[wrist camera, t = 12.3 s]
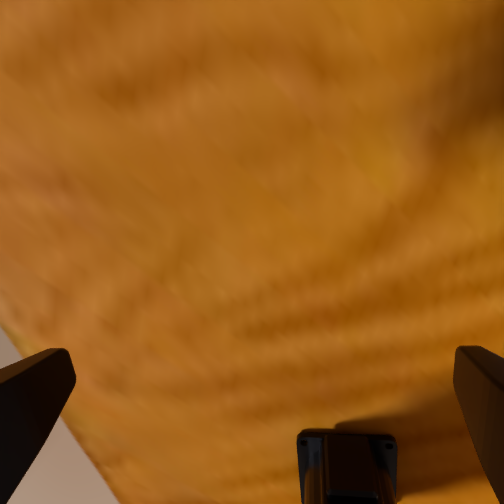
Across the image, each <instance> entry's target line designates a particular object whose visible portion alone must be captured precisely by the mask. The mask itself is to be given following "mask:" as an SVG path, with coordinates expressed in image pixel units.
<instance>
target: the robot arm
mask: <svg viewBox="0 0 504 504" xmlns="http://www.w3.org/2000/svg"><path fill="white" fill-rule="evenodd" d="M75 383H76V374H75V371H74V367H73V364H72V361H71V357H70V354H69V352H68V351H67V350H66V349H64V348H50V349H46V350H44V351H42V352H39V353H37V354H35V355H32V356H30V357H28V358H25V359H23V360H20V361H18V362H16V363H14V364H11V365H9V366H6V367H4V368H2V369H0V504H7V502H8V500H9V499H10V497H11V496H12V494H13V493H14V491H15V489H16V488H17V486H18V485H19V483H20V482H21V480H22V478H23V477H24V475H25V474H26V472H27V471H28V469H29V467H30V466H31V464H32V463H33V461H34V460H35V458H36V456H37V455H38V453H39V451H40V450H41V448H42V447H43V445H44V443H45V441H46V440H47V438H48V436H49V434H50V432H51V431H52V429H53V427H54V425H55V423H56V421H57V419H58V417H59V415H60V413H61V411H62V410H63V408H64V406H65V404H66V402H67V400H68V398H69V396H70V394H71V392H72V390H73V388H74V386H75ZM453 384H454V389H455V393H456V396H457V398H458V401H459V404H460V407H461V410H462V413H463V415H464V418H465V421H466V424H467V427H468V429H469V432H470V435H471V438H472V441H473V444H474V446H475V449H476V452H477V455H478V457H479V460H480V462H481V465H482V467H483V469H484V471H485V474H486V476H487V478H488V480H489V482H490V484H491V486H492V488H493V490H494V492H495V494H496V497H497V499H498V501H499V503H500V504H504V358H502V357H500V356H498V355H496V354H495V353H493V352H491V351H489V350H487V349H485V348H483V347H481V346H477V345H475V346H459V347H457V349H456V352H455V362H454V375H453ZM302 440H306V441H302ZM387 443H390V444H387ZM297 454H298V466H299V478H300V490H301V502H302V504H397V503H396V474H397V444H396V440H395V438H394V437H392V436H389V435H362V434H333V433H304V432H303V433H300V434H298V435H297Z"/></svg>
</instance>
